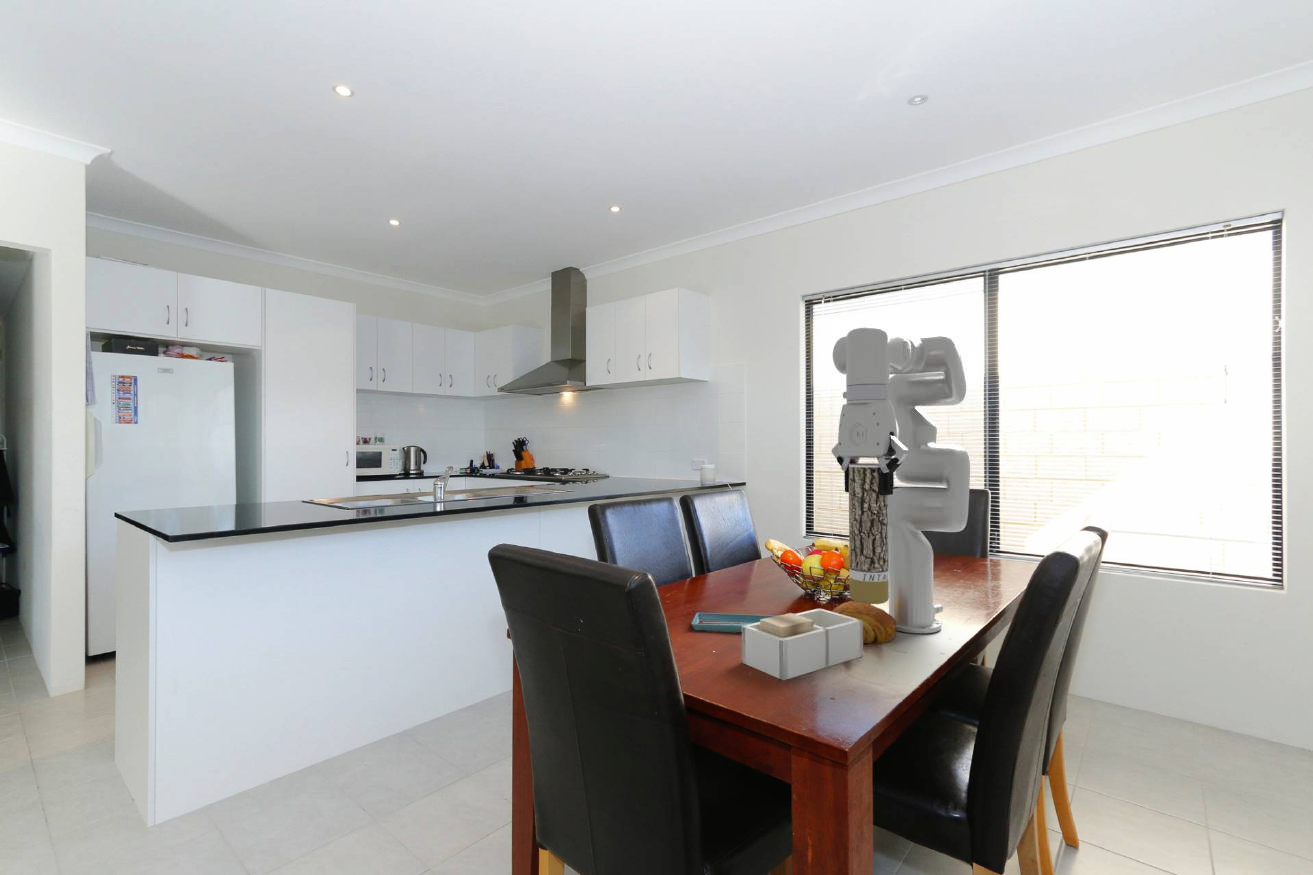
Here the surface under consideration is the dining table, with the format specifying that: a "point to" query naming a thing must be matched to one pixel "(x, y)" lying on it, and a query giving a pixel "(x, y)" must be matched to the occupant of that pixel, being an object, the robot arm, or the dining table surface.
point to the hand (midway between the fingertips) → (868, 492)
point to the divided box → (804, 645)
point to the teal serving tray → (725, 621)
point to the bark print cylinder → (868, 535)
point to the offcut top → (786, 625)
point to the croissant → (870, 621)
